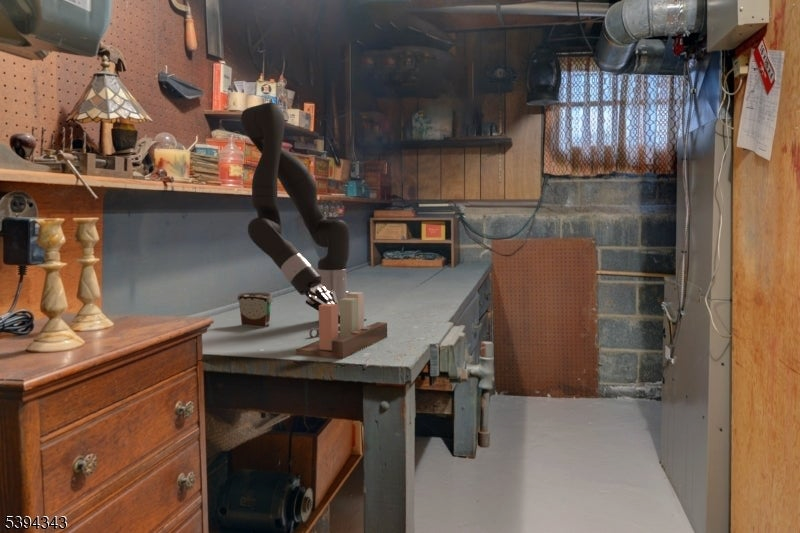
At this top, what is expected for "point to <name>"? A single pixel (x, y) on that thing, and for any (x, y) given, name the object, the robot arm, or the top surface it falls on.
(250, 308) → the food container
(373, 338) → the brown wooden base
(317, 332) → the combination wrench
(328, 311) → the terracotta key
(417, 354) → the top surface
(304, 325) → the top surface
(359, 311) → the tan upright block
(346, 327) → the sage key
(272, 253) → the robot arm
